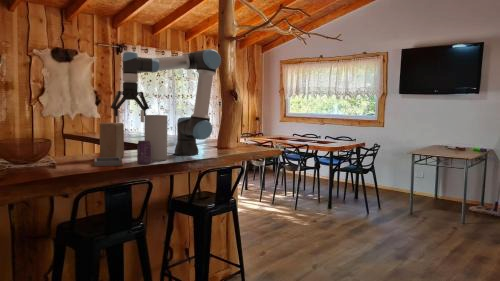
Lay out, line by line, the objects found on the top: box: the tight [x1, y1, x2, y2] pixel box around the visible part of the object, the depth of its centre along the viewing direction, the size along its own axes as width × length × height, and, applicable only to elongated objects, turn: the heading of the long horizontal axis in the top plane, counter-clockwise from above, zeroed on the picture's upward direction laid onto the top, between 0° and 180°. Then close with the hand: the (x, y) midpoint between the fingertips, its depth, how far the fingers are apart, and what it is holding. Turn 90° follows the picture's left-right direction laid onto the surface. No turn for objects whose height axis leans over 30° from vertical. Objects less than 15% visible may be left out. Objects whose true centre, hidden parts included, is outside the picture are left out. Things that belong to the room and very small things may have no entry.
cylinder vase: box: [144, 114, 168, 162], centre depth 226 cm, size 12×12×25 cm
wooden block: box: [99, 122, 125, 159], centre depth 227 cm, size 10×10×20 cm
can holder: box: [93, 157, 123, 168], centre depth 207 cm, size 13×13×2 cm
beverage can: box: [136, 140, 152, 165], centre depth 212 cm, size 7×7×12 cm
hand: (130, 122), depth 214 cm, fingers open, 13 cm apart
